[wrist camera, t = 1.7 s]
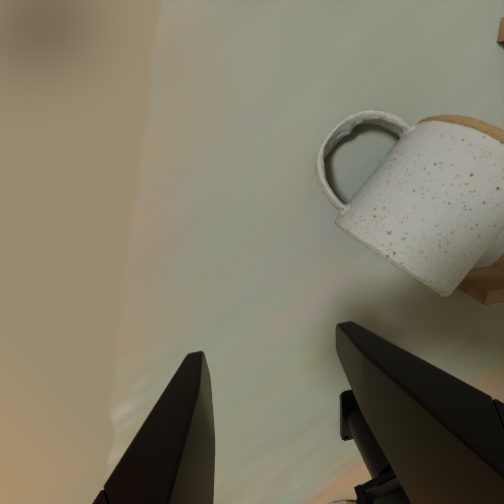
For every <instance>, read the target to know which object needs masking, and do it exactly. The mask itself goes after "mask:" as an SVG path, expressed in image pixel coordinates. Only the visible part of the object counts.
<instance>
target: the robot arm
mask: <svg viewBox="0 0 504 504" xmlns="http://www.w3.org/2000/svg"><path fill="white" fill-rule="evenodd" d="M336 351H337V354H338V357H339V359H340V362H341V364H342V367H343V369H344V371H345V374H346V376H347V379H348V381H349V383H350V386H351V388H352V391H348V392H344V393H342V394H341V395H340V436H341V438H342V440H344V441H347V440H351V439H354V441H355V443H356V445H357V447H358V450H359V452H360V454H361V456H362V458H363V460H364V462H365V464H366V467H367V469H368V471H369V473H370V475H371V477H372V480H370V481H368V482H366V483H364V484H362V485H360V484H359V485H357V486H356V487H354V489H355V492H356V495H357V499H356V502H357V504H504V403H502V402H500V401H499V400H497V399H494V400H493V399H492V397H491V396H489V395H487V394H485V393H484V392H482V391H480V390H478V389H476V388H474V387H473V386H471V385H469V384H467V383H465V382H463V381H461V380H460V379H458V378H456V377H454V376H452V375H450V374H449V373H447V372H445V371H443V370H441V369H439V368H437V367H436V366H434V365H432V364H430V363H428V362H426V361H425V360H423V359H421V358H419V357H417V356H415V355H413V354H412V353H410V352H408V351H406V350H404V349H402V348H401V347H399V346H397V345H395V344H393V343H391V342H389V341H388V340H386V339H384V338H382V337H380V336H378V335H377V334H375V333H373V332H371V331H369V330H367V329H365V328H364V327H362V326H360V325H358V324H356V323H354V322H352V321H347V322H342V323H338V324H337V325H336ZM214 469H215V429H214V416H213V403H212V390H211V379H210V373H209V369H208V365H207V362H206V358H205V354H204V352H203V351H198V352H193V353H189V354H188V355H187V356H186V357H185V359H184V360H183V362H182V363H181V365H180V366H179V368H178V370H177V371H176V373H175V374H174V376H173V378H172V379H171V381H170V382H169V384H168V385H167V387H166V389H165V390H164V392H163V393H162V395H161V396H160V398H159V400H158V401H157V403H156V404H155V406H154V407H153V409H152V411H151V412H150V414H149V415H148V417H147V419H146V420H145V422H144V423H143V425H142V426H141V428H140V430H139V431H138V433H137V434H136V436H135V437H134V439H133V441H132V442H131V444H130V445H129V447H128V448H127V450H126V452H125V453H124V455H123V456H122V458H121V460H120V461H119V463H118V464H117V466H116V467H115V469H114V471H113V472H112V474H111V475H110V477H109V478H108V480H107V482H106V483H105V485H104V490H101V491H100V492H99V494H98V496H97V497H96V499H95V500H94V502H93V503H92V504H213V498H214Z"/></svg>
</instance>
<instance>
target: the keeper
mask: <svg viewBox="0 0 504 504" xmlns="http://www.w3.org/2000/svg"><path fill="white" fill-rule="evenodd" d="M497 42H504V17H503V18H501V24H500V30H499V35H498V41H497ZM457 288H459V289H460V290H462V291H463V292H465V293H466V294H468V295H470V296H471V297H473V298H474V299H476V300H477V301H479V302H480V303H482V304H484V305H489V304H494V303H499V302H504V255H503V256H502V257H501V258H500V259H499V260H498V261H497V262H496V263H495V264H494V265H493V266H491V267H486V268H481V269H476V270H471V271H469V272H468V274H467V275H466V276H465V277H464V279H463V280H462V281H461V282H460V283H459V285H458V286H457Z"/></svg>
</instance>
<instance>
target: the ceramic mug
mask: <svg viewBox="0 0 504 504" xmlns="http://www.w3.org/2000/svg"><path fill="white" fill-rule="evenodd" d="M367 123H371V124H375V125H378V126H383V127H385V128H387V129H389V130H391V131H393V132H395V133H396V134H398V135H399V137H400V139H399V140H398V141H397V143H396V144H395V145H394V146H393V147H392V148H391V150H390V151H389V152H388V154H387V155H386V157H385V158H384V159H383V160H382V161H381V163H380V165H379V166H378V167H377V168H376V170H375V171H374V172H373V173H372V175H371V176H370V177H369V178H368V179H367V181H366V182H365V183H364V184H363V185H362V186H361V187H360V189H359V190H358V191H357V192H356V194H354V195H353V197H352V198H351V200H350V201H349V202H348V203H347V204H346V205H345V204H343V203H342V202H341V201H340V200H339V199H338V198H337V197H336V195H335V194H334V192H333V191H332V189H331V188H330V186H329V185H328V182H327V180H326V176H325V170H324V167H325V165H324V159H325V157H326V156H327V154H328V153H329V152H330V151H331V150H332V148H333V147H334V146H335V145H336V144H337V143H338V142H339V141H340V140H341V139H342V138H343V137H344V136H346V135H349V134H350V133H351V132H352V130H353V128H354V127H355V126H357V125H358V124H367ZM315 170H316V176H317V180H318V183H319V186H320V188H321V190H322V191H323V193H324V194H325V196H326V197H327V198H328V200H329V201H330V202H331V203H332V204H333V206H334V207H336V208H337V209H338V210H339V212H340V213H339V215H338V217H337V218H336V220H335V225H337V226H338V227H339V228H340V229H342V230H343V231H345V232H346V233H348V234H349V235H351V236H352V237H353V238H355V239H356V240H358V241H359V242H361V243H362V244H364V245H365V246H366V247H368V248H369V249H371V250H372V251H374V252H375V253H377V254H378V255H380V256H381V257H383V258H384V259H385V260H387V261H389V262H390V263H392V264H393V265H394V266H396V267H397V268H399V269H401V270H402V271H404V272H405V273H407V274H408V275H410V276H412V277H413V278H414V279H416V280H418V281H419V282H421V283H422V284H424V285H426V286H427V287H428V288H430V289H432V290H433V291H435V292H436V293H438V294H439V295H441V296H442V297H448V296H450V295H451V294H452V292H453V291H454V290H455V289H456V287H457V286H458V285H459V283H460V282H461V281H462V280H463V279H464V277H465V276H466V275H467V274H468V272H469V271H470V270H471V269H472V267H473V266H474V265H475V264H476V263H477V261H478V260H479V259H480V258H481V256H482V255H483V254H484V253H485V251H486V250H487V249H488V248H489V246H490V245H491V244H492V242H493V241H494V240H495V239H496V237H497V236H498V235H499V234H500V232H501V231H502V230H503V229H504V131H503V130H502V129H500V128H498V127H495V126H493V125H491V124H488V123H486V122H483V121H481V120H477V119H474V118H470V117H465V116H460V115H440V116H434V117H429V118H426V119H423V120H421V121H420V122H418V123H417V124H416V125H409V124H408V123H407V122H406V121H404V120H402V119H401V118H400V117H398V116H395V115H393V114H390V113H388V112H382V111H377V110H368V111H363V112H359V113H355V114H353V115H350V116H348V117H346V118H344V119H343V120H341V121H340V122H339V123H338V124H337V125H336V126H335V127H333V128H332V129H331V130H330V131H329V133H328V134H327V135H326V136H325V138H324V139H323V141H322V143H321V144H320V146H319V148H318V151H317V155H316V163H315Z"/></svg>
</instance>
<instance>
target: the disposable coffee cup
mask: <svg viewBox="0 0 504 504" xmlns="http://www.w3.org/2000/svg"><path fill="white" fill-rule="evenodd" d="M330 504H356V503H355V502H351V501H346V500H344V501H338V502H332V503H330Z"/></svg>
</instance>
